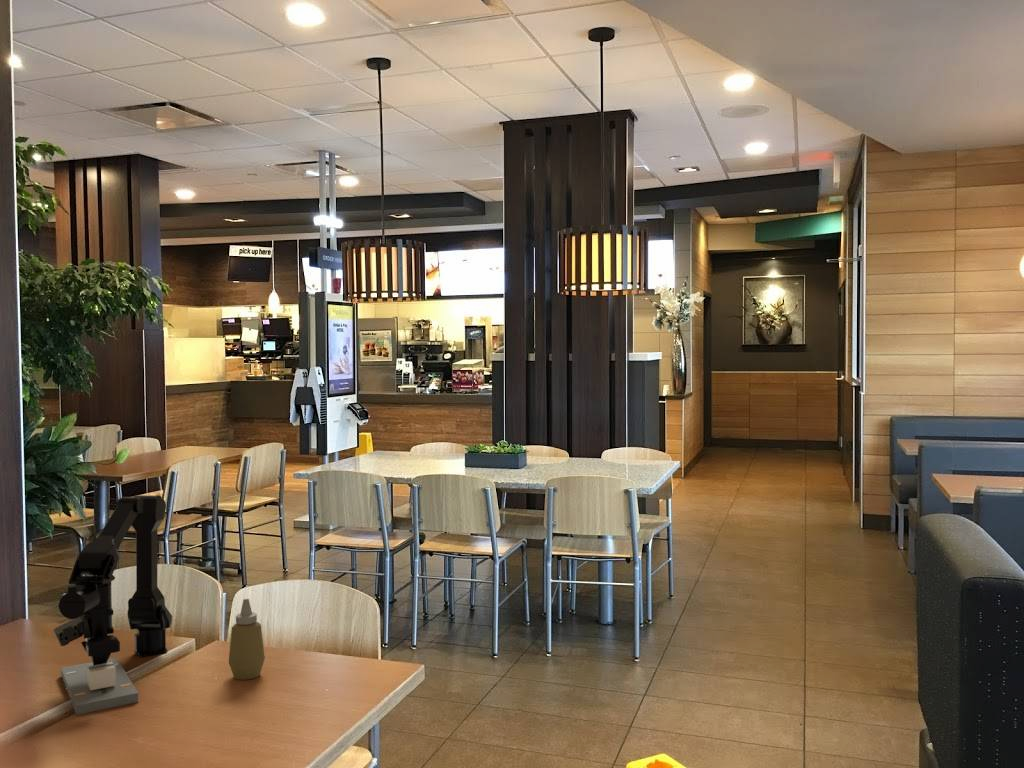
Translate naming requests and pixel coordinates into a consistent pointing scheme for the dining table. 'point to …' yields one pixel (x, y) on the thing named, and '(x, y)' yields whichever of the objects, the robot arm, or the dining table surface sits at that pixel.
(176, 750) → the dining table surface
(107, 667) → the cap
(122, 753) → the dining table surface
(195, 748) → the dining table surface
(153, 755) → the dining table surface
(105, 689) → the plate
